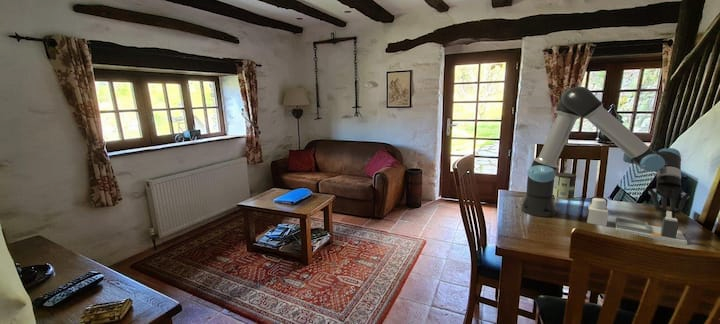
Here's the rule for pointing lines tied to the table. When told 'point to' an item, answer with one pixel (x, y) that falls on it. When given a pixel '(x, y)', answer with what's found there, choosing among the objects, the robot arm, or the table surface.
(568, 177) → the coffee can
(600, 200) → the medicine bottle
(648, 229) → the breaker panel
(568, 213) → the table surface
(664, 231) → the breaker toggle
